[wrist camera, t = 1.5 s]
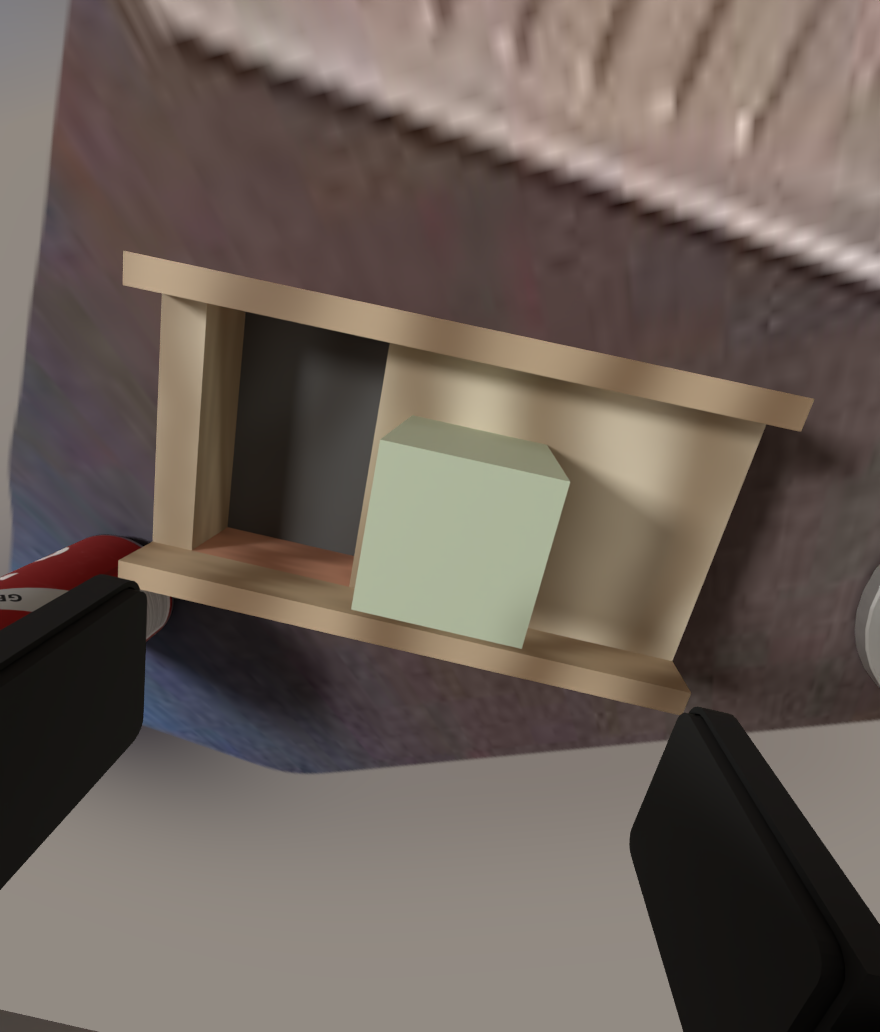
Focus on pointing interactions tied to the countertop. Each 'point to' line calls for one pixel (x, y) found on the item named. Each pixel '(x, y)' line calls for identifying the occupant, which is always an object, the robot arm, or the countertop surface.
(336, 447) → the channel track
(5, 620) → the soda can
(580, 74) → the countertop surface
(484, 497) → the sage block
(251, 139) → the countertop surface
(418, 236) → the countertop surface
